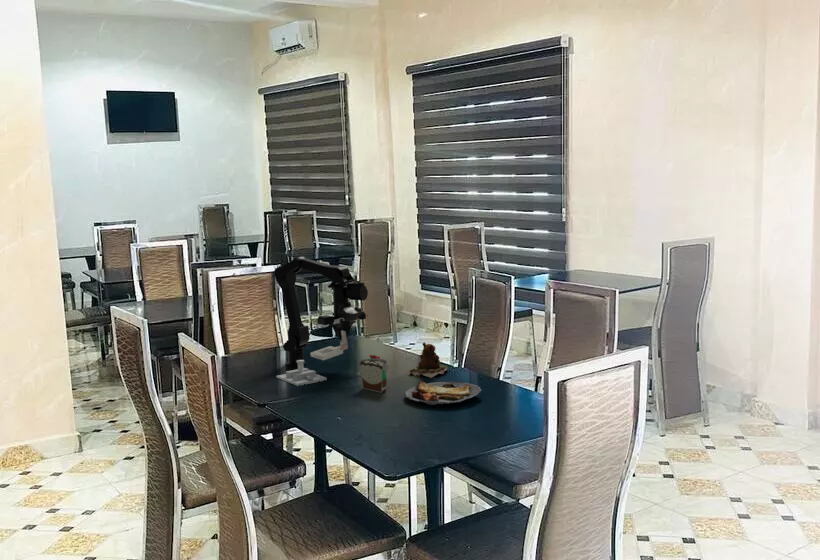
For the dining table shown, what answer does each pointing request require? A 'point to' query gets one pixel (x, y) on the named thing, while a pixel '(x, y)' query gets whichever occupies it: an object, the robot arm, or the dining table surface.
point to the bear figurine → (428, 363)
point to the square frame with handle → (331, 349)
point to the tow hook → (371, 358)
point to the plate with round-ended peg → (301, 375)
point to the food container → (374, 374)
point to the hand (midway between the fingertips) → (342, 339)
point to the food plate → (442, 392)
